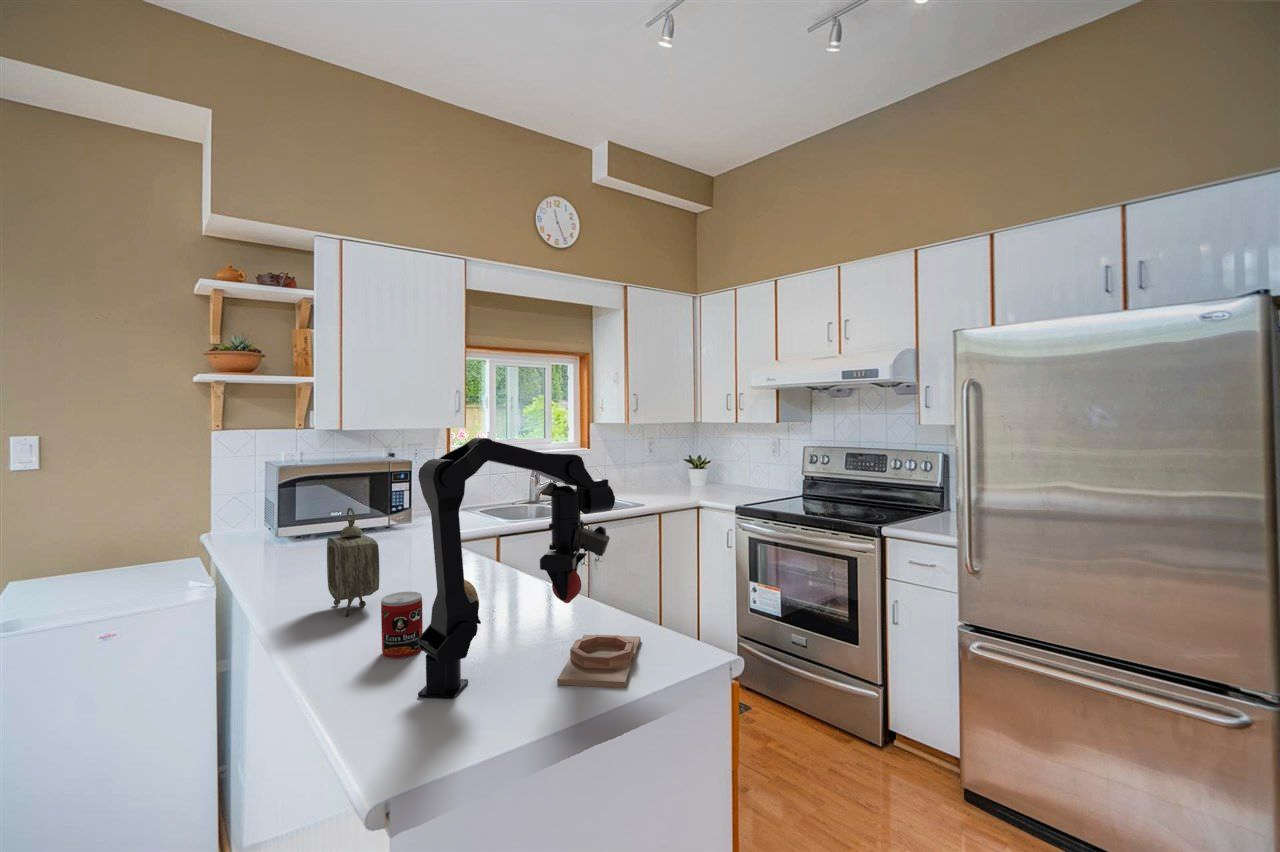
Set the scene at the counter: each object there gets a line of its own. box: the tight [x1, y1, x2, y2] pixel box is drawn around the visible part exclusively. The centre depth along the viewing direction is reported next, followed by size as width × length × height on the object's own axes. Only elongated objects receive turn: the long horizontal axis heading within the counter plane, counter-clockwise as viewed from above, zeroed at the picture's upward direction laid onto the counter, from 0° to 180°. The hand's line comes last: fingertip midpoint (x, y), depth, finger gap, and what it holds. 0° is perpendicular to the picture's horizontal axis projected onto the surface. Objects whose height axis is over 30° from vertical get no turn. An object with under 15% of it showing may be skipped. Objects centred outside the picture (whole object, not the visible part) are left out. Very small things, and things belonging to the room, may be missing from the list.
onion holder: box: [556, 634, 642, 689], centre depth 118 cm, size 22×12×3 cm, turn 173°
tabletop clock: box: [326, 507, 380, 617], centre depth 152 cm, size 14×9×25 cm, turn 37°
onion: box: [551, 570, 582, 604], centre depth 122 cm, size 6×6×8 cm
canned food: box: [380, 591, 424, 659], centre depth 124 cm, size 8×8×11 cm
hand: (566, 595), depth 123 cm, fingers closed on onion, 6 cm apart
